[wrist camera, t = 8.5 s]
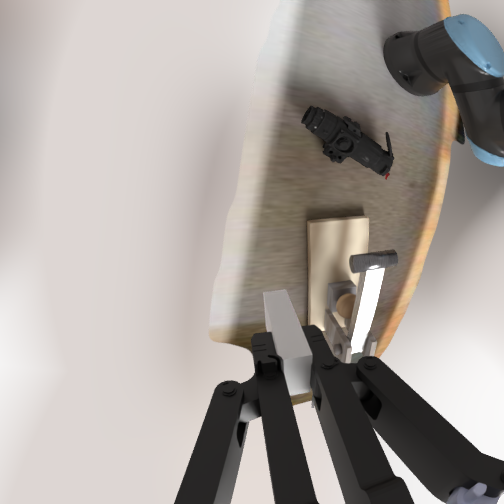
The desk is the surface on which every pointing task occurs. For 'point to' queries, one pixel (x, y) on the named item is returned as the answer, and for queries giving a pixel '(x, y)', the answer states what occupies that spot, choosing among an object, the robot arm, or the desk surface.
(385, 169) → the night vision scope
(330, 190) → the desk surface
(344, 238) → the press base
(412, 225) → the desk surface
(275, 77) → the desk surface
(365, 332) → the lever
